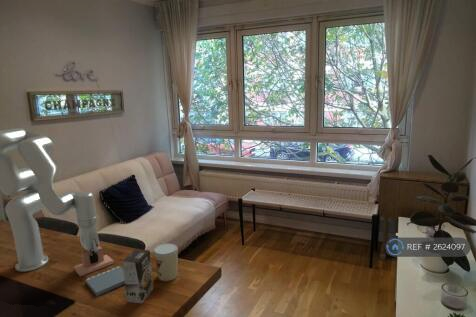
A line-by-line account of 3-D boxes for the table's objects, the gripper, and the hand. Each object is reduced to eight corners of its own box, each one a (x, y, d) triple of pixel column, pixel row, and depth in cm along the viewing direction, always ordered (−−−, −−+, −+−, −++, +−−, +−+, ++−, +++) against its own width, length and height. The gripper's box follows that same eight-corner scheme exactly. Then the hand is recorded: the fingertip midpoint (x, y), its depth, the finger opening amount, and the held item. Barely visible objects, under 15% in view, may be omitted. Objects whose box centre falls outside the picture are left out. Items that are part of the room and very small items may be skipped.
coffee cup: (154, 272, 136) (151, 246, 133) (176, 267, 139) (174, 241, 137) (158, 284, 128) (155, 256, 125) (182, 278, 131) (179, 250, 128)
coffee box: (142, 303, 116) (138, 262, 113) (126, 302, 118) (121, 261, 114) (154, 288, 125) (150, 249, 122) (138, 287, 126) (134, 248, 123)
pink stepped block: (74, 269, 140) (71, 253, 139) (107, 257, 149) (105, 242, 148) (80, 276, 135) (77, 259, 133) (113, 263, 144) (111, 247, 143)
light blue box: (85, 283, 130) (85, 279, 130) (120, 269, 139) (119, 265, 139) (96, 296, 121) (96, 292, 121) (132, 280, 131) (132, 276, 130)
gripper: (71, 218, 142) (78, 257, 146) (84, 229, 130) (90, 271, 134) (89, 213, 146) (95, 251, 150) (103, 224, 135) (109, 264, 139)
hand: (93, 260), depth 142 cm, fingers closed on pink stepped block, 3 cm apart
